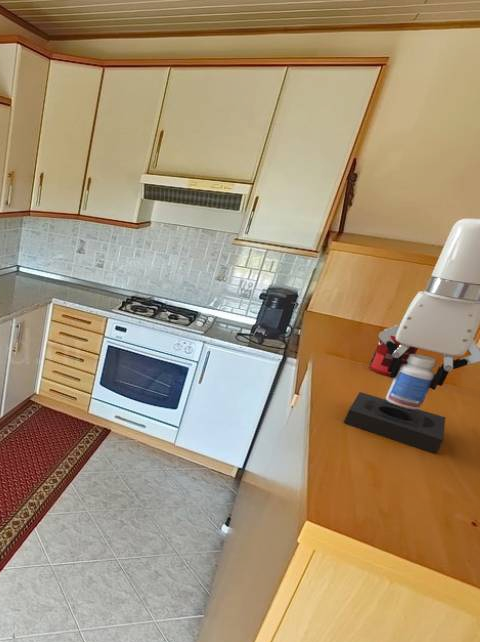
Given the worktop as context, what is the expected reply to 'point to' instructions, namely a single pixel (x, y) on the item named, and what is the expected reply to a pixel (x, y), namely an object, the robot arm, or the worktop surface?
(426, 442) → the socket pad
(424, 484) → the worktop surface
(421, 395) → the pill bottle
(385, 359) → the canned food
